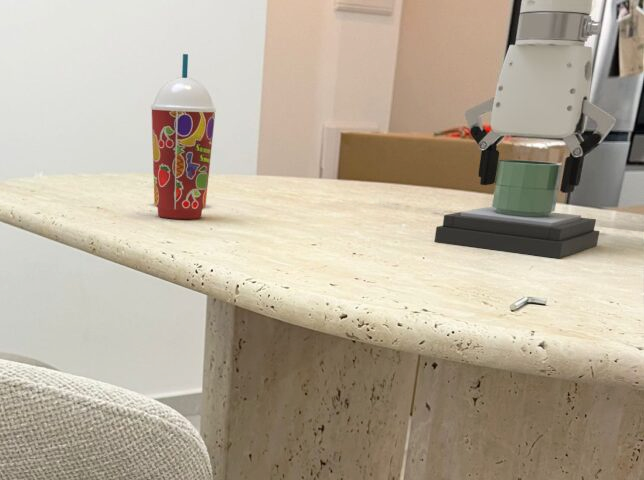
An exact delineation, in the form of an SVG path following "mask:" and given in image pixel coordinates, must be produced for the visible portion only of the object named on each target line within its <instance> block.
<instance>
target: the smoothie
mask: <svg viewBox="0 0 644 480" xmlns="http://www.w3.org/2000/svg"><path fill="white" fill-rule="evenodd" d="M188 64H189V54H188V53H182V66H181V69H182V70H181V77H176V78H174V79H172V80H170V81H168V82H166V83H165V84H164V85H163V86H162V87H161V88H160V89H159V91H158V92H157V94H156V97H155V98H154V101H153V104H152V105H150V110H151V133H152V134H151V137H152V138H151V139H152V142H151V143H152V167H153V169H152V170H153V171H152V172H153V198H154V199H153V201H154V202H153V203H154V207H156V208H157V214H158V216H159V217H161V218H164V219H170V220H197V219H200V218H201V217H202V214H203V209H205V208H206V207H207V206H206V205H207V195H208V186H209V177H210V168H211V167H210V166H211V156H212V147H213V137H214V127H215V117H216V112H217V108H216V107H214V103H213V100H212V97H211V95H210V93H209V91H208V90H207V88H206V87H205V86H204V85H203V84H202V83H200V82H199V81H197V80H195V79H193V78H192V77H188V67H189V65H188ZM199 217H200V218H199ZM196 218H197V219H196Z"/></svg>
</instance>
